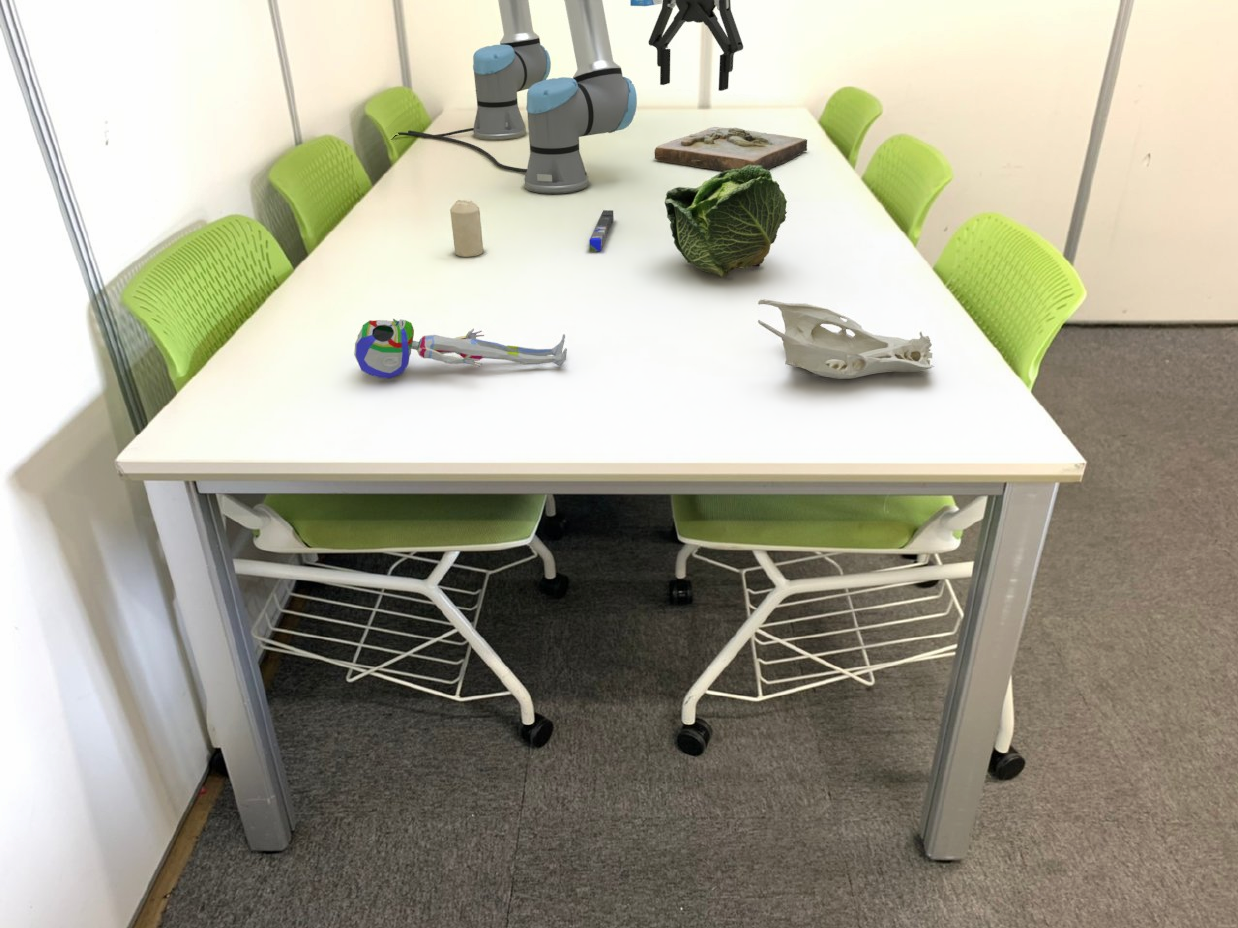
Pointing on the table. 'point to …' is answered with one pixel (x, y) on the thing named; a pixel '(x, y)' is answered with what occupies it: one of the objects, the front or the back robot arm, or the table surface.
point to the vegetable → (727, 219)
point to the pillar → (601, 230)
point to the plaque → (730, 149)
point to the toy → (435, 349)
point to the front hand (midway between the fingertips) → (693, 87)
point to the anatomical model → (844, 345)
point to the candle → (466, 228)
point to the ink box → (645, 2)
